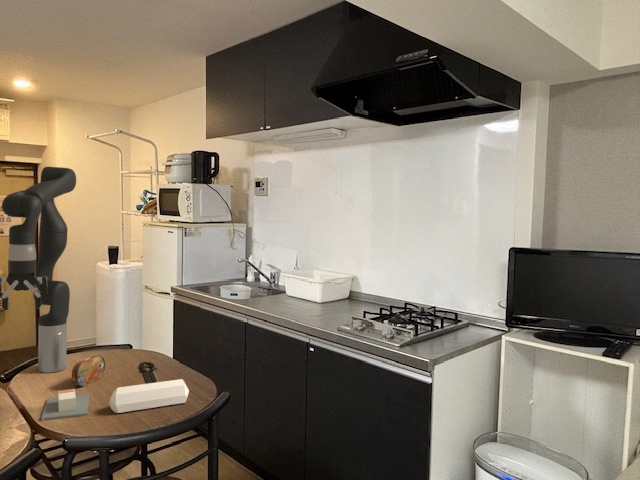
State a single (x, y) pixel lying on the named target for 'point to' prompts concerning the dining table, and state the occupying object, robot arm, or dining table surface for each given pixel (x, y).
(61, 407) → the card box
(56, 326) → the robot arm
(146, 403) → the crystal
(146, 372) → the knife
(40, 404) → the dining table surface
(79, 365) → the tin
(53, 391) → the dining table surface
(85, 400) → the mat
